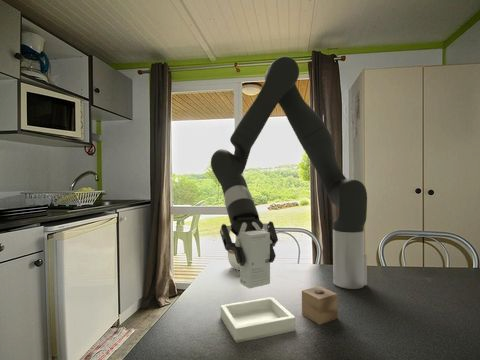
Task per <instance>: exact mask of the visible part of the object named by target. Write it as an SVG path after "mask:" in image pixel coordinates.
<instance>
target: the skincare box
mask: <svg viewBox="0 0 480 360" xmlns="http://www.w3.org/2000/svg"><path fill="white" fill-rule="evenodd" d="M240 242H241V244H240V247H242V251H243V254H244V258H245V264H244V266H240V271H239V283H240V284H241V285H242V286H243V287H246V288H248V289H254V288H258V287H262V286H266V285H269V284H271V263H270V233H269V232H266V231H265V230H263V231H261V230H257V231H247V232H240Z"/></svg>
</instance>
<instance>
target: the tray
mask: <svg viewBox="0 0 480 360" xmlns="http://www.w3.org/2000/svg"><path fill="white" fill-rule="evenodd" d="M219 309H220V319H221V320H222V322H223V324H224V325H225V327H226V329H227V330H228V332H229V334H230V336H231V337H232V338H233V341H234V342H235V343H236V344H239V343H243V342H248V341H253V340H258V339H263V338H267V337H272V336H277V335H281V334H282V335H283V334H287V333H291V332H295V331H296V328H297V327H296V324H297V323H296V317H295V315H293V313H291V312H290V311H289V310H288V309H286V308H285V307H284V306H283V305H282V304H281V303H280V302H278V301H277V300H276V298H274V297H273V296H270V297H263V298H258V299H257V298H256V299H252V300H250V299H249V300H245V301H238V302H233V303H227V304H222V305H220V308H219Z"/></svg>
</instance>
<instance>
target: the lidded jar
mask: <svg viewBox="0 0 480 360" xmlns="http://www.w3.org/2000/svg"><path fill="white" fill-rule="evenodd" d="M227 258H228V260H227V261H228V263H229V264H230V266H231V268H233V269H234V270H235V269H236V270H235V271H238V270H240V264H238V263H237V261H236V257H235V253H234V251H232V250H229V251H227Z"/></svg>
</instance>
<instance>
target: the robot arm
mask: <svg viewBox="0 0 480 360" xmlns="http://www.w3.org/2000/svg"><path fill="white" fill-rule="evenodd" d="M299 76H300V68H299V64H298V63H297V61H296V60H295V59H294V58H292V57H289V56H287V55H286V56H280V57H277V58H276V59H275V60H273V61H272V62H271V63H270V65H269V67H268V68H267V70H266V72H265V76H264V83H263V85H262V86H261V89H260V91H259V93H258V94H257V96H256V98H255V99H254V101H253V102H252V104H251V105H250V106H249V108H248V110H247V111H246V112H245V113H244V115H243V117H242V118H241V119H240V121H239V123H238V124H237V126H236V127H235V129H234V131H233V132H232V134H231V136H230V137H229V142H230V143H231V145H233V147H234V152H233V153H232V152H230V151H229V150H227V149H225V148H220V149H217V150H216V151H215V152H214V153H213V154H212V155H211V157H210V159H211V160H210V167H211V170H212V173H213V175H214V176H215V178H216V180H217V181H218V183H219V184H220V187H221V190H222V193H223V196H224V204H225V209H226V212H227V216H228V220H229V223H230V225H226V224H225V223H223V224H221V227H220V230H219V233H220V237H221V240H222V243H223V246H224V249H225V251H227V252H228V251H229V250H232V251H234V253H235V257H236V261H237V263H238V264H240V266H244V264H245V258H244V254H243V251H242V247H240V244H241V242H240V232H247V231H257V230H261V231H266V232H269V233H270V264H271V263H273V262H274V261H275V259H276V252H275V250H274V247H276V244H277V242H278V241H279V238H278V235H277V231H276V227H275V224H274V222H273V221H270V220H269V222H268V223H264V222H262V221H261V220H260V216H259V213H258V210H257V207H256V204H255V201H254V199H253V196H252V193H251V191H250V190H249V186H248V184H247V182H246V178H245V177H244V176H243V175H242V174H243V173H244V171H245V169H246V166H247V163H248V159H249V155H250V153H251V150H252V148H253V146H254V144H255V143H256V140H257V139H258V138H259V136H260V134H261V133H262V131H263V129H264V127H265V125H266V124H267V122H268V120H269V118H270V116H272V113H273V111H274V110H275V109H276V106H277V105H279V107H280V108H281V109H282V111H283V113H284V114H285V116H286V119H287V120H288V122H289V124H290V126H291V128H292V131H293V132H294V134H295V136H296V138H297V140H298V141H299V143H300V146H301V147H302V148H303V151H304V152H305V154H306V155H307V157H308V159H309V161H310V162H311V164H312V165H313V168H314V169H315V171H316V172H317V175H318V176H319V179H320V181H321V183H322V186H323V188H324V189H325V193H326V195H327V197H328V199H329V201H330V202H331V203H332V204H333V205H334V206H336V207H338V216H337V217H336V218H335V219H334V220H332V268H333V269H332V270H333V271H332V275H333V277H332V279H333V280H332V281H333V282H332V283H333V285H335V286H337V287H339V288H342V289H348V290H358V289H362V288H364V287H365V286H367V285H368V281H367V280H368V278H367V277H368V274H367V273H368V271H367V266H368V263H367V259H368V258H367V254H366V253H365V243H364V242H365V241H364V240H365V239H364V238H365V235H364V231H365V229H364V228H365V224H366V222H367V215H368V214H367V213H368V211H367V210H368V193H367V192H368V191H367V189H366V186H365V185H364V183H363V182H362V181H360V180H359V179H358V180H357V179H349V178H346V176H345V174H344V173H343V171H342V170H341V168H340V167H339V164H338V162H337V158H336V151H335V150H336V149H335V144H334V140H333V137H332V135H331V133H330V131H329V128H327V126H326V123H325V122H324V120H323V119H322V117H320V116H319V114H317V112H315V110H314V109H313V108H312V107H311V106H310V105H309V104H308V103H307V102H306V101H305V100H304V98H303V96H302V95H301V93H300V91H299V89H298V87H297V85H296V84H297V81H298V79H299ZM231 233H232V234H234V235H235V236H236V239H235V242H233V241H232V238H231V235H230V234H231Z"/></svg>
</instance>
